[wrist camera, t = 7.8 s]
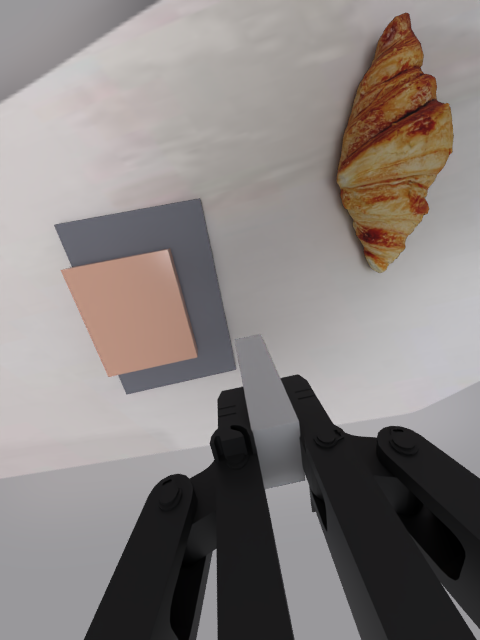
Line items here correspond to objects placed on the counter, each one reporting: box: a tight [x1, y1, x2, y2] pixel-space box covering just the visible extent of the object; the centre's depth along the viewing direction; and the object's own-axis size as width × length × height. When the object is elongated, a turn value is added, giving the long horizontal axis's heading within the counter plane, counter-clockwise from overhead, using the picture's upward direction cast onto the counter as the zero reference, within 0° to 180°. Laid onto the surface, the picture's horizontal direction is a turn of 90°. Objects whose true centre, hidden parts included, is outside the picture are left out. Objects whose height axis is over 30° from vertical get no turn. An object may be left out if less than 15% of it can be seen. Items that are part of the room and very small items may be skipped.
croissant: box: [337, 13, 454, 273], centre depth 24 cm, size 21×10×8 cm, turn 11°
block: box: [61, 248, 198, 377], centre depth 26 cm, size 2×12×10 cm
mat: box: [54, 198, 236, 394], centre depth 28 cm, size 14×20×1 cm
